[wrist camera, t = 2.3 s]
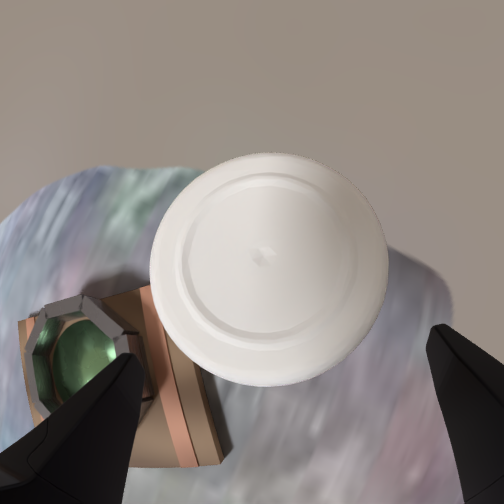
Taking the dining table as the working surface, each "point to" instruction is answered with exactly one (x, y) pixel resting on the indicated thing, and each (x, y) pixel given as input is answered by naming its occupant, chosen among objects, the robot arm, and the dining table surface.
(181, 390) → the wooden base board
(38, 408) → the ring
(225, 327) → the sprinkles bottle
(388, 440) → the dining table surface
